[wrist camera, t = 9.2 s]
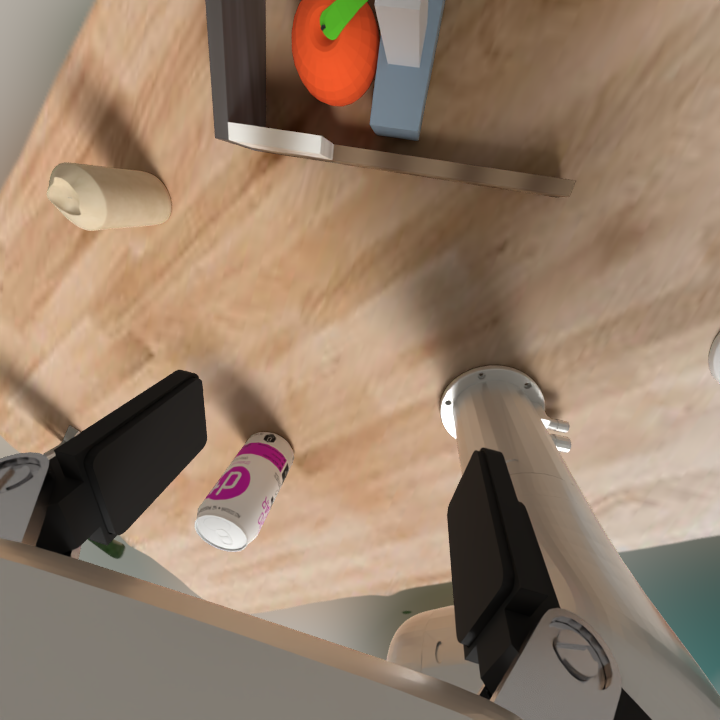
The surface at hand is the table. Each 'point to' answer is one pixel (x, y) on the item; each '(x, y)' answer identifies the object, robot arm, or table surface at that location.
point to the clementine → (335, 48)
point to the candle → (108, 196)
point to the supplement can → (245, 493)
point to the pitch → (248, 129)
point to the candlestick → (715, 359)
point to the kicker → (404, 65)
